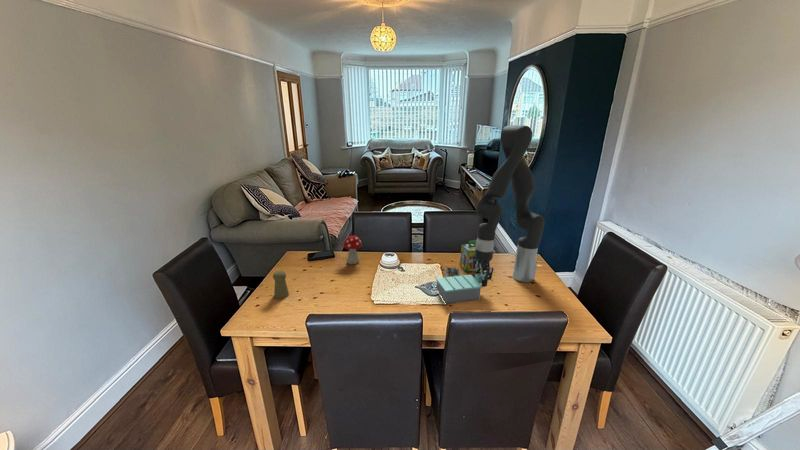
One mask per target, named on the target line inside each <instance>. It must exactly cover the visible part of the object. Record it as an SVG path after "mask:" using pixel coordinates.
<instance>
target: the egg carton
mask: <svg viewBox="0 0 800 450" xmlns="http://www.w3.org/2000/svg"><path fill="white" fill-rule="evenodd" d="M453 276H462V271H461V270H460V268H456V267H451V266H445V277H453Z"/></svg>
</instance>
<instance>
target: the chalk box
mask: <svg viewBox="0 0 800 450" xmlns="http://www.w3.org/2000/svg"><path fill="white" fill-rule="evenodd" d="M476 241H477V239H473V240H468V243H465V244H461V246H460V247H461V249H460V259H459V265H460V266H461V268H462V269H463V270H464V271H465V272H475V269H473V256H475V248H476ZM475 266H476V264H475Z"/></svg>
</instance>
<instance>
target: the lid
mask: <svg viewBox="0 0 800 450" xmlns="http://www.w3.org/2000/svg"><path fill="white" fill-rule="evenodd" d="M484 275H486V274H484ZM482 279H483V278H482V274H481V273H478V274H475V275H474V276H473V275H472V274H465V275H464V274H461V276H457V275H455V276H453V277H451V276H449V277H446V276H445V277H437V278H436V279H435V281H436V283H437V282H438V283H439V285H440V286H441V287H442V289H443V290H444V291H445V292H453V291H461V290H469V289H478V288H481V289H482V288H483V287H482Z"/></svg>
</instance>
